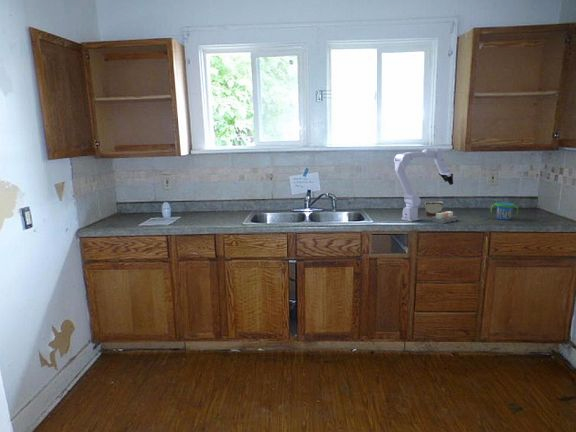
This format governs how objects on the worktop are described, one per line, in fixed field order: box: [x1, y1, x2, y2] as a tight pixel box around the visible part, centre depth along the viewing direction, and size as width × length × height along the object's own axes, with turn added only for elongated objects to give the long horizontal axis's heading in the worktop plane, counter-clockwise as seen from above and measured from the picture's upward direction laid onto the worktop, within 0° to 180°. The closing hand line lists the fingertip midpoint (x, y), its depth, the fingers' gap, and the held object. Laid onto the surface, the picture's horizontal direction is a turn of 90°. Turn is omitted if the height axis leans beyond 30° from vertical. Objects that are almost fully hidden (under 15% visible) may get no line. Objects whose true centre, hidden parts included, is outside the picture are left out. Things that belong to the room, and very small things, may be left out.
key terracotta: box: [441, 211, 449, 218], centre depth 247 cm, size 3×3×4 cm
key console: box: [430, 215, 459, 224], centre depth 247 cm, size 15×9×2 cm, turn 123°
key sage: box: [436, 213, 444, 219], centre depth 244 cm, size 3×3×4 cm
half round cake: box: [424, 200, 444, 218], centre depth 263 cm, size 12×6×10 cm, turn 84°
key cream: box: [446, 210, 454, 217], centre depth 249 cm, size 3×3×4 cm
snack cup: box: [490, 202, 519, 221], centre depth 249 cm, size 16×10×10 cm
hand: (449, 182), depth 257 cm, fingers open, 7 cm apart
